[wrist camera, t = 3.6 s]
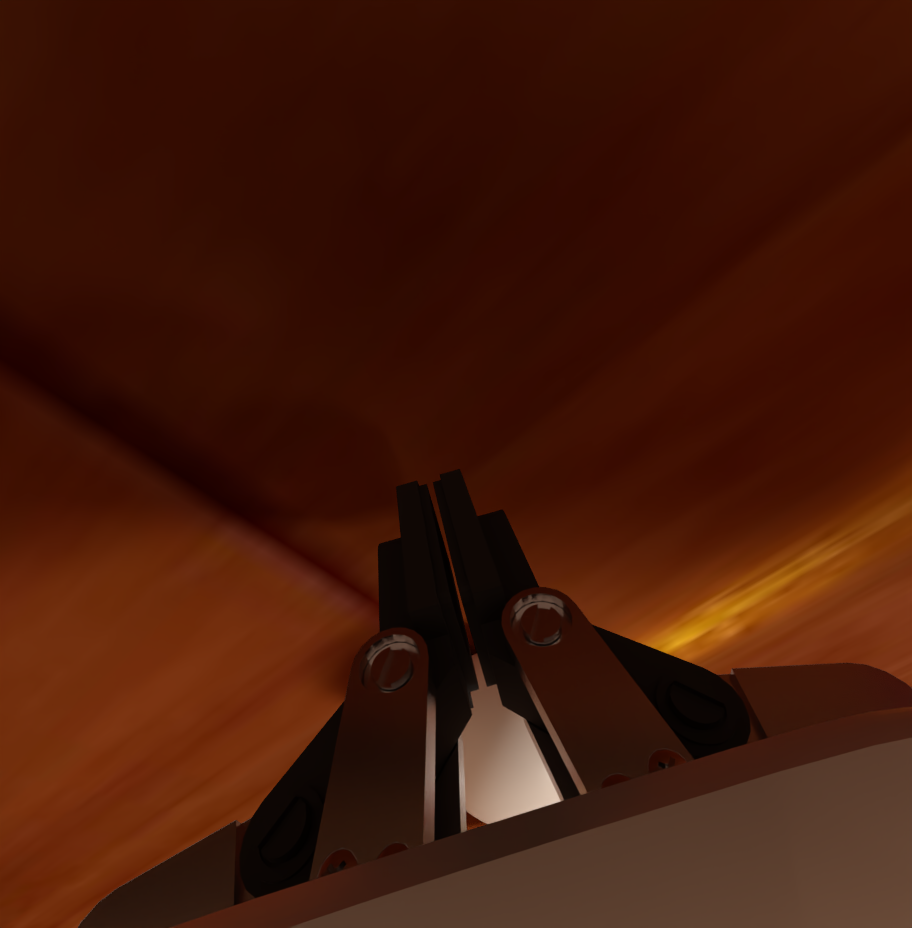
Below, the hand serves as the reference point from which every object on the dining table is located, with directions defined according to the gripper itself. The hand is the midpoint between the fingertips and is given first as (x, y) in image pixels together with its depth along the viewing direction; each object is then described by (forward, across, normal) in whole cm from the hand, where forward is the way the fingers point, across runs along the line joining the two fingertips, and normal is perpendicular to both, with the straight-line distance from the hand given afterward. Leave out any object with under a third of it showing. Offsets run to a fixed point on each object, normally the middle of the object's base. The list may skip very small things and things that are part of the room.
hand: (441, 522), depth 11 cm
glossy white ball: (-1, 0, +10) cm, 10 cm away
